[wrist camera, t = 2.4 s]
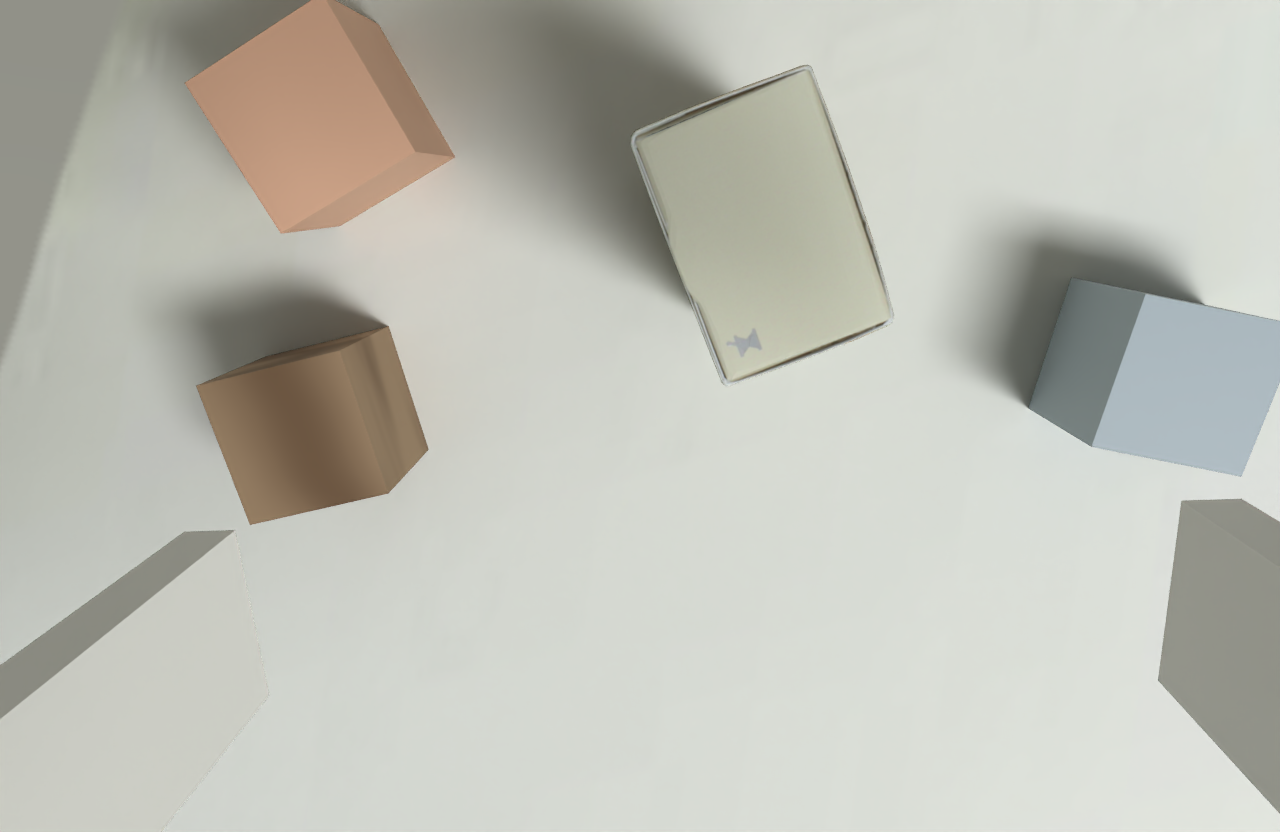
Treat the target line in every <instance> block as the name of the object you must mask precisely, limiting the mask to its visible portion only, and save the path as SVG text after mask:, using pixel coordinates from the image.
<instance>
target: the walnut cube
mask: <svg viewBox="0 0 1280 832" xmlns="http://www.w3.org/2000/svg"><path fill="white" fill-rule="evenodd" d="M196 387H197V389H198V392H199V394H200V397H201V400H202V402H203V405H204V407H205V410H206V412H207V415H208V418H209V420H210V423H211V425H212V428H213V431H214V433H215V436H216V438H217V441H218V443H219V446H220V449H221V451H222V454H223V456H224V459H225V461H226V464H227V467H228V469H229V472H230V474H231V477H232V479H233V482H234V485H235V487H236V490H237V492H238V495H239V498H240V500H241V503H242V505H243V508H244V510H245V513H246V516H247V518H248V521H249V523H250V525H252V524H256V523H260V522H265V521H269V520H274V519H278V518H282V517H287V516H291V515H296V514H300V513H304V512H309V511H313V510H318V509H322V508H326V507H331V506H335V505H340V504H344V503H348V502H353V501H357V500H361V499H366V498H370V497H375V496H379V495H383V494H388V493H389V492H390V491H391V490H392V489H393V488H394V487H395V486H396V484H397V483H398V482H399V481H400V480H401V479H402V478H403V477H404V476H405V475H406V474H407V472H408V471H409V470H410V469H411V468H412V467H413V466H414V465H415V464H416V463H417V462H418V460H419V459H420V458H421V457H422V456H423V455H424V454H425V453H426V452H427V451H428V450H429V449H428V446H427V443H426V440H425V437H424V434H423V431H422V428H421V425H420V422H419V419H418V416H417V412H416V409H415V406H414V403H413V400H412V397H411V394H410V391H409V388H408V385H407V382H406V379H405V375H404V372H403V369H402V366H401V363H400V360H399V357H398V354H397V351H396V348H395V345H394V341H393V338H392V335H391V332H390V329H389V326H388V327H384V328H380V329H376V330H372V331H368V332H364V333H360V334H356V335H352V336H348V337H343V338H339V339H335V340H331V341H327V342H323V343H319V344H315V345H311V346H307V347H303V348H299V349H295V350H291V351H287V352H283V353H279V354H275V355H271V356H267V357H264V358H261V359H259V360H257V361H254V362H252V363H249V364H247V365H245V366H242V367H240V368H237V369H235V370H233V371H230V372H228V373H226V374H223V375H221V376H218V377H216V378H214V379H211V380H209V381H206V382H204V383H202V384H199V385H197V386H196Z"/></svg>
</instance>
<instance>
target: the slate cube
mask: <svg viewBox="0 0 1280 832" xmlns="http://www.w3.org/2000/svg"><path fill="white" fill-rule="evenodd" d="M1279 383H1280V321H1277V320H1273V319H1268V318H1263V317H1259V316H1254V315H1250V314H1245V313H1240V312H1236V311H1231V310H1227V309H1222V308H1217V307H1213V306H1208V305H1203V304H1198V303H1194V302H1189V301H1184V300H1179V299H1174V298H1169V297H1164V296H1159V295H1154V294H1150V293H1145V292H1140V291H1135V290H1130V289H1125V288H1120V287H1115V286H1110V285H1105V284H1101V283H1096V282H1091V281H1086V280H1081V279H1076V278H1071V281H1070V284H1069V287H1068V290H1067V293H1066V296H1065V299H1064V302H1063V305H1062V308H1061V311H1060V314H1059V317H1058V320H1057V323H1056V326H1055V329H1054V332H1053V335H1052V338H1051V341H1050V344H1049V347H1048V350H1047V353H1046V356H1045V359H1044V362H1043V365H1042V368H1041V371H1040V374H1039V377H1038V380H1037V383H1036V386H1035V389H1034V392H1033V395H1032V398H1031V401H1030V405H1029V409H1030V410H1032V411H1034V412H1035V413H1037V414H1038V415H1040V416H1042V417H1043V418H1045V419H1047V420H1048V421H1050V422H1052V423H1053V424H1055V425H1057V426H1058V427H1060V428H1062V429H1063V430H1065V431H1066V432H1068V433H1070V434H1071V435H1073V436H1075V437H1076V438H1078V439H1080V440H1081V441H1083V442H1085V443H1086V444H1088V445H1089V446H1091V447H1095V448H1100V449H1105V450H1110V451H1115V452H1120V453H1125V454H1130V455H1135V456H1140V457H1145V458H1150V459H1155V460H1160V461H1165V462H1171V463H1176V464H1181V465H1186V466H1191V467H1196V468H1201V469H1206V470H1211V471H1216V472H1221V473H1226V474H1231V475H1236V476H1242V474H1243V471H1244V469H1245V466H1246V464H1247V461H1248V459H1249V457H1250V454H1251V452H1252V449H1253V447H1254V444H1255V442H1256V439H1257V437H1258V435H1259V432H1260V430H1261V427H1262V425H1263V422H1264V420H1265V417H1266V415H1267V412H1268V410H1269V408H1270V405H1271V403H1272V400H1273V398H1274V395H1275V393H1276V390H1277V388H1278V386H1279Z"/></svg>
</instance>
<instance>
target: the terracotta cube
mask: <svg viewBox="0 0 1280 832" xmlns="http://www.w3.org/2000/svg"><path fill="white" fill-rule="evenodd" d="M185 84H186V86H187V88H188V89H189V91H190V92H191V94H192V95H193V97H194V98H195V100H196V102H197V103H198V105H199V106H200V108H201V109H202V111H203V113H204V114H205V116H206V117H207V119H208V120H209V122H210V123H211V125H212V127H213V128H214V130H215V131H216V133H217V134H218V136H219V137H220V139H221V141H222V142H223V144H224V145H225V147H226V148H227V150H228V152H229V153H230V155H231V156H232V158H233V159H234V161H235V162H236V164H237V166H238V167H239V169H240V170H241V172H242V173H243V175H244V177H245V178H246V180H247V181H248V183H249V184H250V186H251V187H252V189H253V191H254V192H255V194H256V195H257V197H258V198H259V200H260V202H261V203H262V205H263V206H264V208H265V209H266V211H267V212H268V214H269V216H270V217H271V219H272V220H273V222H274V223H275V225H276V227H277V228H278V230H279V231H280V233H289V232H297V231H305V230H313V229H321V228H328V227H336V226H341V225H343V224H344V223H346V222H348V221H349V220H351V219H353V218H354V217H356V216H358V215H359V214H361V213H363V212H364V211H366V210H368V209H369V208H371V207H373V206H374V205H376V204H378V203H379V202H381V201H383V200H384V199H386V198H388V197H389V196H391V195H393V194H394V193H396V192H398V191H399V190H401V189H403V188H404V187H406V186H408V185H409V184H411V183H413V182H414V181H416V180H418V179H419V178H421V177H423V176H424V175H426V174H428V173H429V172H431V171H433V170H434V169H436V168H438V167H439V166H441V165H443V164H444V163H446V162H448V161H449V160H451V159H453V158H454V157H455V156H454V154H453V153H452V151H451V149H450V147H449V146H448V144H447V142H446V141H445V139H444V137H443V135H442V134H441V132H440V130H439V128H438V127H437V125H436V123H435V121H434V120H433V118H432V116H431V115H430V113H429V111H428V109H427V108H426V106H425V104H424V102H423V101H422V99H421V97H420V96H419V94H418V92H417V90H416V89H415V87H414V85H413V83H412V82H411V80H410V78H409V76H408V75H407V73H406V71H405V70H404V68H403V66H402V64H401V63H400V61H399V59H398V57H397V56H396V54H395V52H394V51H393V49H392V47H391V45H390V44H389V42H388V40H387V38H386V37H385V35H384V33H383V32H382V30H381V28H380V26H379V25H378V24H377V23H375V22H373V21H371V20H370V19H368V18H366V17H364V16H362V15H361V14H359V13H357V12H355V11H353V10H352V9H350V8H348V7H346V6H344V5H343V4H341V3H339V2H337V1H335V0H311V1H309V2H308V3H306V4H305V5H303V6H302V7H300V8H298V9H297V10H295V11H294V12H292V13H291V14H289V15H288V16H286V17H285V18H283V19H282V20H280V21H279V22H277V23H276V24H274V25H272V26H271V27H269V28H268V29H266V30H265V31H263V32H262V33H260V34H259V35H257V36H256V37H254V38H253V39H251V40H250V41H248V42H246V43H245V44H243V45H242V46H240V47H239V48H237V49H236V50H234V51H233V52H231V53H230V54H228V55H227V56H225V57H223V58H222V59H220V60H219V61H217V62H216V63H214V64H213V65H211V66H210V67H208V68H207V69H205V70H204V71H202V72H201V73H199V74H197V75H196V76H194V77H193V78H191V79H190V80H188V81H187V82H185Z"/></svg>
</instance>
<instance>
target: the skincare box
mask: <svg viewBox="0 0 1280 832" xmlns="http://www.w3.org/2000/svg"><path fill="white" fill-rule="evenodd" d="M630 145H631V149H632V151H633V154H634V157H635V159H636V162H637V165H638V168H639V170H640V173H641V176H642V178H643V181H644V184H645V186H646V189H647V192H648V194H649V197H650V200H651V202H652V205H653V208H654V210H655V213H656V216H657V218H658V221H659V223H660V226H661V229H662V231H663V234H664V236H665V239H666V241H667V244H668V247H669V249H670V252H671V255H672V257H673V260H674V262H675V265H676V268H677V270H678V272H679V275H680V277H681V280H682V282H683V285H684V287H685V290H686V293H687V295H688V298H689V301H690V303H691V306H692V308H693V311H694V313H695V316H696V319H697V321H698V324H699V326H700V329H701V331H702V334H703V336H704V339H705V341H706V344H707V347H708V349H709V352H710V354H711V357H712V359H713V362H714V364H715V367H716V369H717V372H718V374H719V377H720V379H721V382H722V383H723V385H725V386H731V385H734V384H736V383H739V382H742V381H744V380H747V379H750V378H753V377H756V376H760V375H762V374H765V373H768V372H771V371H773V370H776V369H779V368H782V367H785V366H788V365H790V364H793V363H796V362H799V361H801V360H804V359H807V358H810V357H812V356H815V355H817V354H820V353H823V352H825V351H828V350H830V349H833V348H836V347H838V346H841V345H843V344H846V343H849V342H851V341H854V340H856V339H858V338H861V337H863V336H865V335H867V334H870V333H872V332H874V331H877V330H879V329H881V328H884V327H887V326H888V325H890V324H891V323H892V322H893V319H894V313H893V309H892V306H891V302H890V298H889V294H888V290H887V286H886V283H885V279H884V275H883V272H882V268H881V265H880V261H879V258H878V254H877V251H876V248H875V244H874V241H873V238H872V235H871V232H870V229H869V226H868V223H867V220H866V217H865V214H864V212H863V208H862V205H861V202H860V199H859V196H858V193H857V190H856V188H855V185H854V182H853V179H852V176H851V173H850V170H849V167H848V164H847V161H846V158H845V156H844V153H843V150H842V147H841V145H840V142H839V139H838V136H837V133H836V131H835V128H834V126H833V123H832V120H831V118H830V115H829V112H828V109H827V106H826V104H825V101H824V99H823V96H822V94H821V91H820V88H819V86H818V83H817V80H816V78H815V75H814V72H813V69H812V68H811V66H809V65H802V66H799V67H796V68H794V69H791V70H789V71H786V72H783V73H781V74H778V75H775V76H773V77H770V78H767V79H764V80H761V81H759V82H756V83H753V84H750V85H747V86H745V87H742V88H739V89H737V90H734V91H731V92H729V93H726V94H723V95H721V96H718V97H716V98H713V99H711V100H708V101H706V102H703V103H701V104H698V105H695V106H693V107H690V108H688V109H685V110H683V111H680V112H678V113H676V114H673V115H671V116H669V117H666V118H664V119H661V120H659V121H656V122H654V123H652V124H649V125H647V126H644V127H642V128H640V129H637V130H636V131H634V133H633V134H632V135H631V140H630Z"/></svg>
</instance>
